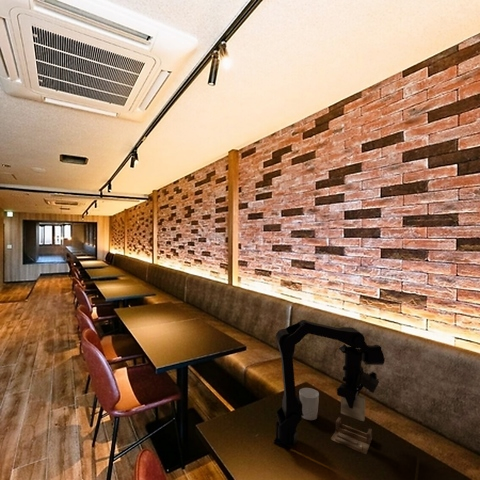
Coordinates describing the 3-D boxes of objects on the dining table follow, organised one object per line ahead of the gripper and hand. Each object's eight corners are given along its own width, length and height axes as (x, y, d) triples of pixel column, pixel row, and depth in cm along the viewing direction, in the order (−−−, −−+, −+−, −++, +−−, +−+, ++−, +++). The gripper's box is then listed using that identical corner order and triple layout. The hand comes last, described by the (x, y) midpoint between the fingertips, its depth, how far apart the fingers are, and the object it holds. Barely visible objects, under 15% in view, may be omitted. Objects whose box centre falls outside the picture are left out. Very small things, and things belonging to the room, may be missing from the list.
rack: (330, 441, 103) (330, 429, 103) (338, 427, 111) (339, 416, 111) (366, 456, 96) (366, 443, 96) (372, 440, 104) (372, 428, 104)
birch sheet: (340, 413, 106) (341, 391, 106) (341, 411, 107) (342, 389, 107) (363, 421, 101) (364, 398, 101) (364, 419, 102) (365, 397, 102)
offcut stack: (334, 440, 103) (335, 435, 103) (337, 436, 105) (337, 431, 105) (361, 452, 97) (361, 446, 97) (363, 447, 99) (363, 441, 99)
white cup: (304, 409, 123) (304, 385, 123) (321, 416, 118) (322, 392, 118) (295, 417, 117) (295, 393, 117) (313, 425, 112) (313, 400, 112)
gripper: (372, 380, 92) (370, 429, 92) (381, 361, 107) (380, 403, 107) (336, 370, 98) (335, 416, 98) (350, 354, 114) (349, 393, 113)
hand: (351, 407), depth 104 cm, fingers closed on birch sheet, 1 cm apart
